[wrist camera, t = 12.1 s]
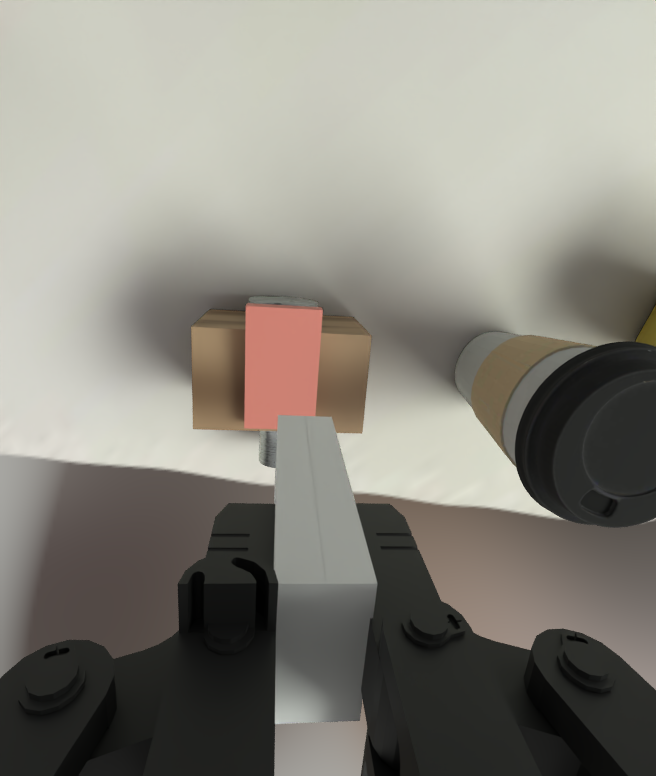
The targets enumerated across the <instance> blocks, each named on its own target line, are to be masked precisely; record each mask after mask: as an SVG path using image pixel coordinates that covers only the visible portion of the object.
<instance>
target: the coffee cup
mask: <svg viewBox="0 0 656 776" xmlns="http://www.w3.org/2000/svg"><path fill="white" fill-rule="evenodd" d="M455 382H456V386H457V388H458V390H459V391H460V393H461V394H462V395H463V397H464V398H465V399H466V401H467V402H468V403H469V404H470V406H471V407H472V408H473V411H474V413H475V415H476V417H477V418H478V420H479V421H480V422H481V424H482V425H483V426H484V427H485V429H486V430H487V431H488V433H489V434H490V435H491V436H492V438H493V439H494V440H495V442H496V443H497V444H498V446H499V447H500V448H501V449H502V451H503V452H504V453H505V455H506V456H507V457H508V458H509V460H510V461H511V462H512V463H513V465H515V466H516V467H517V471H518V474H519V477H520V480H521V482H522V484H523V486H524V487H525V489H526V490H527V492H528V493H529V494H530V496H531V497H532V498H533V499H534V500H535V501H536V502H537V503H539V504H540V505H541V506H542V507H544V508H546V509H547V510H549V511H551V512H552V513H554V514H556V515H557V516H559V517H561V518H563V519H566V520H568V521H572V522H575V523H581V524H587V525H597V526H603V527H613V528H618V527H628V526H633V525H637V524H641V523H644V522H647V521H650V520H652V519H654V518H656V347H655V346H653V345H649V344H645V343H639V342H616V343H609V344H605V345H601V346H592V345H587V344H581V343H575V342H569V341H564V340H558V339H552V338H546V337H540V336H534V335H525V336H522V335H516V334H510V333H505V332H498V331H496V332H487V333H483V334H481V335H479V336H477V337H475V338H474V339H473V340H472V341H470V342H469V343H468V345H467V346H466V347H465V348H464V349H463V351H462V353H461V354H460V356H459V358H458V361H457V364H456V368H455Z"/></svg>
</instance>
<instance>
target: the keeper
mask: <svg viewBox="0 0 656 776" xmlns="http://www.w3.org/2000/svg"><path fill="white" fill-rule="evenodd" d="M322 315H323V309H322V307H308V306H290V305H272V304H254V303H247V304H246V323H245V414H244V428H248V429H277V426H278V415H291V416H315V414H316V400H317V386H318V372H319V357H320V343H321V329H322Z"/></svg>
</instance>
